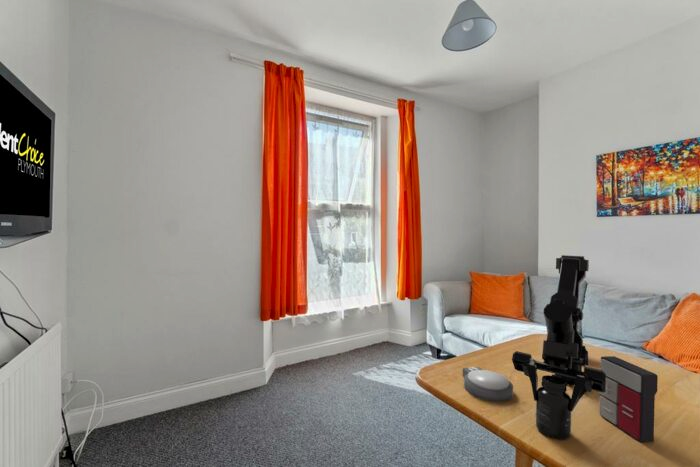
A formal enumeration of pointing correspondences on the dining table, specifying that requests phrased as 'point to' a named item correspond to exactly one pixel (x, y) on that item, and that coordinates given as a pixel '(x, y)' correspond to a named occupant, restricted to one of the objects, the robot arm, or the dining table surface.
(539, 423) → the supplement bottle
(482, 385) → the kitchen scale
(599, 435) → the dining table surface
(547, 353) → the robot arm
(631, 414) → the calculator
